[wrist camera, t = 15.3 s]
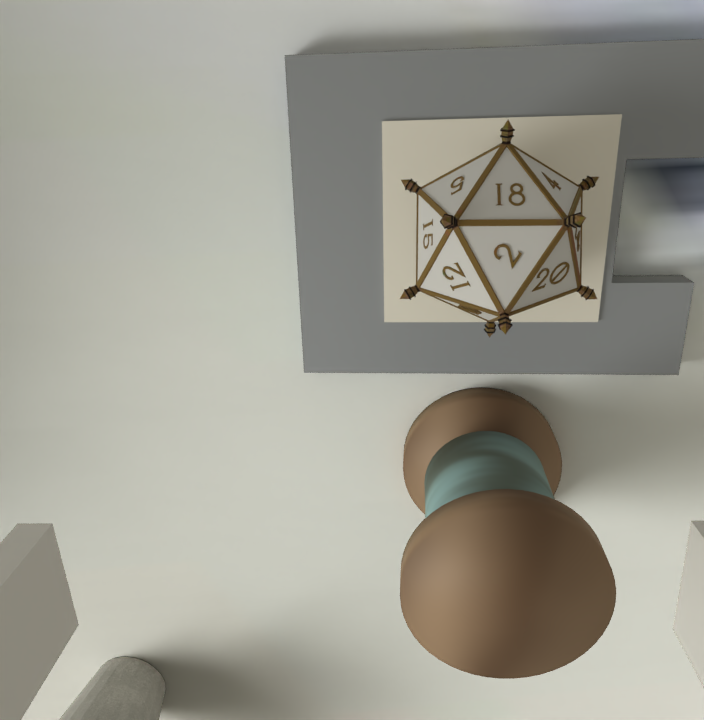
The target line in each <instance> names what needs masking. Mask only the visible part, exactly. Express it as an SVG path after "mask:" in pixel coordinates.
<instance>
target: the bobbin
mask: <svg viewBox="0 0 704 720" xmlns="http://www.w3.org/2000/svg"><path fill="white" fill-rule="evenodd" d="M403 472H404V479H405V484H406V487H407V490H408V492H409V494H410V496H411V498H412V500H413V501H414V503H415V504H416V505H417V507H418V508H419V509H420V510H421V511H422V512H423V513H424V514H425V517H426V518H425V519H424V520H423V521H422V522H421V523H420V525H419V526H418V527H417V528H416V529H415V531H414V532H413V534H412V535H411V537H410V539H409V540H408V543H407V545H406V547H405V550H404V553H403V557H402V561H401V579H400V600H401V608H402V612H403V616H404V618H405V621H406V623H407V625H408V627H409V629H410V631H411V632H412V634H413V635H414V637H415V638H416V639H417V640H418V642H419V643H420V644H421V645H422V646H423V647H424V648H425V649H426V650H427V651H428V652H429V653H431V654H432V655H434V656H435V657H436V658H438V659H439V660H441V661H443V662H444V663H446V664H448V665H450V666H452V667H454V668H457V669H459V670H461V671H464V672H468V673H471V674H474V675H479V676H484V677H492V678H522V677H530V676H535V675H540V674H543V673H547V672H550V671H553V670H555V669H558V668H560V667H562V666H565V665H567V664H568V663H570V662H572V661H574V660H576V659H577V658H578V657H580V656H581V655H583V654H584V653H585V652H586V651H588V650H589V649H590V648H591V647H592V646H593V645H594V644H595V643H596V642H597V640H598V639H599V638H600V637H601V636H602V634H603V633H604V631H605V629H606V628H607V626H608V624H609V622H610V620H611V617H612V615H613V611H614V607H615V601H616V586H615V579H614V576H613V572H612V569H611V567H610V564H609V562H608V560H607V557H606V555H605V553H604V550H603V548H602V546H601V544H600V541H599V539H598V537H597V535H596V534H595V532H594V531H593V530H592V528H591V527H590V525H589V524H588V523H587V522H586V521H585V520H584V519H583V518H582V517H581V516H580V515H579V514H577V513H576V512H575V511H574V510H572V509H571V508H569V507H568V506H566V505H564V504H563V503H561V502H559V501H557V500H555V499H554V494H555V492H556V490H557V487H558V484H559V481H560V477H561V472H562V460H561V453H560V449H559V446H558V443H557V441H556V439H555V436H554V434H553V432H552V429H551V427H550V425H549V423H548V422H547V420H546V419H545V417H544V416H543V415H542V414H541V413H540V411H539V410H538V409H537V408H536V407H534V406H533V405H532V404H531V403H529V402H528V401H526V400H525V399H523V398H521V397H519V396H517V395H515V394H513V393H510V392H507V391H503V390H499V389H493V388H470V389H465V390H460V391H457V392H453V393H450V394H448V395H446V396H443V397H441V398H440V399H438V400H436V401H435V402H433V403H432V404H431V405H429V406H428V407H427V408H426V409H425V410H424V411H423V412H422V413H421V414H420V415H419V416H418V417H417V418H416V420H415V421H414V422H413V424H412V426H411V428H410V430H409V432H408V435H407V437H406V441H405V445H404V458H403Z"/></svg>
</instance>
